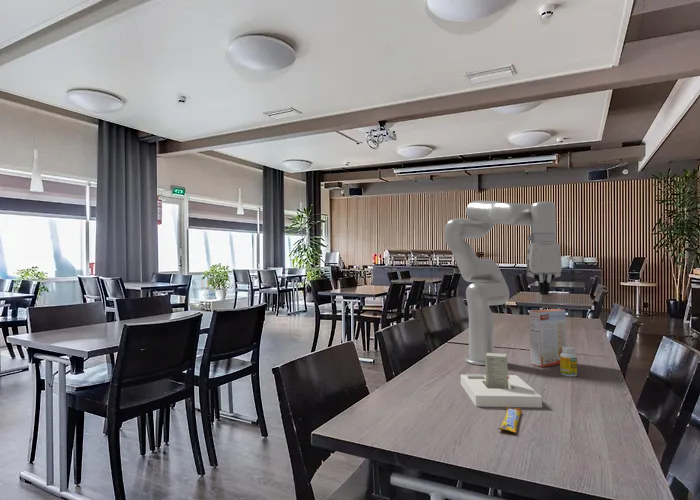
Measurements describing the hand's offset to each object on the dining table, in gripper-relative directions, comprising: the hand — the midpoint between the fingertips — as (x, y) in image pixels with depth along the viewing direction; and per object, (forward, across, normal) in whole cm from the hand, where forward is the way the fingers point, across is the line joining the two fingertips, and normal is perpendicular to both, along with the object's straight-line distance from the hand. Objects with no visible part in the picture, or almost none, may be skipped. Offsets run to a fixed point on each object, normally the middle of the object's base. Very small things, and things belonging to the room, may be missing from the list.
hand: (543, 294), depth 148 cm
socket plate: (+29, -19, -14) cm, 37 cm away
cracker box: (+29, +11, +26) cm, 41 cm away
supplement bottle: (+29, +12, +10) cm, 33 cm away
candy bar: (+30, -22, -36) cm, 52 cm away
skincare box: (+29, -19, -14) cm, 38 cm away
